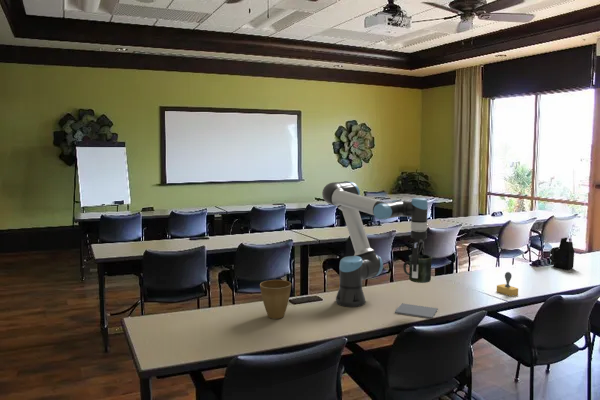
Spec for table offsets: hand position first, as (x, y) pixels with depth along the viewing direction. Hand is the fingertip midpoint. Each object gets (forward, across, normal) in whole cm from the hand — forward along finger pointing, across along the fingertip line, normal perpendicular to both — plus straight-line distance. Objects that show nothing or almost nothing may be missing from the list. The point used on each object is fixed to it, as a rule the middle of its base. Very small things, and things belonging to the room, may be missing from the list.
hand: (417, 275), depth 245 cm
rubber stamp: (+19, +52, -38) cm, 67 cm away
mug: (+3, -1, 0) cm, 3 cm away
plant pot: (+19, -36, +59) cm, 72 cm away
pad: (+18, 0, 0) cm, 18 cm away
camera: (+19, +128, -66) cm, 145 cm away
